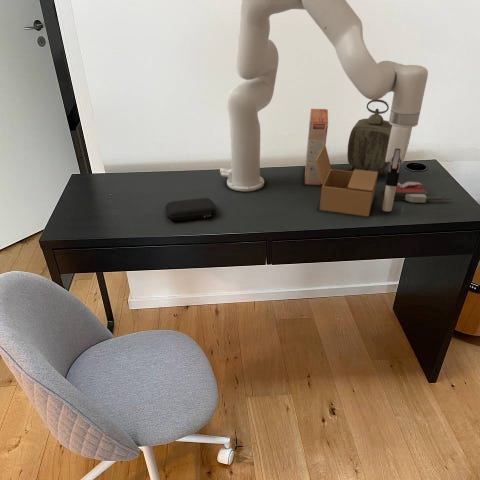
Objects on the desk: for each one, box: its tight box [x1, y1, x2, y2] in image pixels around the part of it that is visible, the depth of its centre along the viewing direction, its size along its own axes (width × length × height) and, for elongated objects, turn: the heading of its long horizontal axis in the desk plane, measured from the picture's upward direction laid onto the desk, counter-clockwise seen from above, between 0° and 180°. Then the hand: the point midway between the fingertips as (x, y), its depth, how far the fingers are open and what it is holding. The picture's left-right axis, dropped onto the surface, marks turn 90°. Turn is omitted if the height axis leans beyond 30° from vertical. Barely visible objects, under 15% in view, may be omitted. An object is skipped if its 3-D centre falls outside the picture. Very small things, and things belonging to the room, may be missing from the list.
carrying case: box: [164, 197, 217, 222], centre depth 150 cm, size 11×3×15 cm
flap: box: [315, 144, 332, 185], centre depth 150 cm, size 7×14×1 cm
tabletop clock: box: [346, 99, 392, 176], centre depth 164 cm, size 14×9×25 cm, turn 66°
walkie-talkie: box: [394, 181, 452, 204], centre depth 157 cm, size 9×4×20 cm
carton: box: [319, 168, 379, 217], centre depth 152 cm, size 15×14×9 cm
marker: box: [381, 164, 402, 212], centre depth 145 cm, size 3×3×14 cm
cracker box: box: [304, 108, 329, 186], centre depth 165 cm, size 14×6×21 cm, turn 173°
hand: (391, 182), depth 144 cm, fingers closed on marker, 3 cm apart
